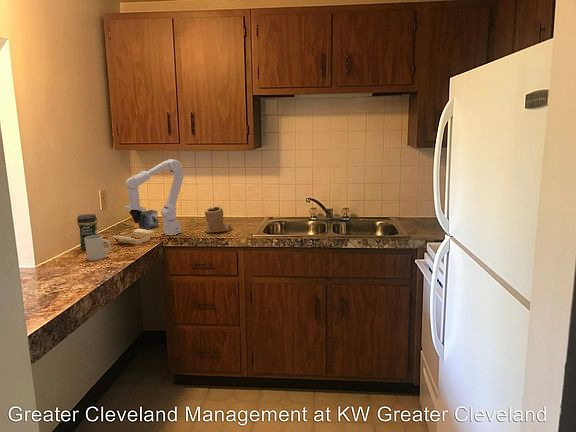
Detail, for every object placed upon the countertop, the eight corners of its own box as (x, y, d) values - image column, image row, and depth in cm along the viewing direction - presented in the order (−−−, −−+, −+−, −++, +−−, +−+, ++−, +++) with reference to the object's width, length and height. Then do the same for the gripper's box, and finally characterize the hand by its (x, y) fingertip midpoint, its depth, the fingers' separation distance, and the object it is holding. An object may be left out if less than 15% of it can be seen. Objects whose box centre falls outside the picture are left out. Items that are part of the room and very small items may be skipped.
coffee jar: (79, 250, 244) (74, 216, 240) (84, 246, 252) (79, 213, 247) (97, 249, 245) (92, 215, 240) (102, 245, 252) (97, 212, 248)
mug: (84, 261, 226) (81, 239, 223) (91, 255, 234) (88, 235, 231) (109, 259, 226) (106, 238, 223) (114, 254, 234) (112, 234, 232)
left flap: (129, 237, 246) (129, 240, 246) (135, 238, 249) (134, 240, 249) (113, 235, 252) (113, 237, 252) (119, 235, 256) (118, 237, 256)
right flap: (149, 233, 258) (149, 235, 258) (154, 230, 261) (154, 232, 262) (133, 231, 264) (133, 233, 265) (138, 228, 267) (138, 230, 268)
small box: (145, 230, 280) (143, 214, 278) (138, 229, 284) (136, 212, 282) (159, 226, 288) (157, 210, 286) (152, 225, 292) (151, 209, 290)
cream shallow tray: (150, 239, 258) (149, 235, 258) (136, 244, 250) (136, 240, 249) (133, 237, 265) (132, 233, 265) (119, 242, 257) (118, 237, 256)
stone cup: (204, 235, 264) (202, 210, 260) (206, 230, 275) (204, 205, 272) (231, 233, 265) (229, 208, 262) (231, 228, 277) (229, 204, 273)
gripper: (119, 199, 255) (122, 223, 258) (137, 201, 248) (140, 225, 251) (129, 197, 261) (132, 220, 264) (147, 199, 254) (150, 222, 257)
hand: (136, 222), depth 258 cm, fingers closed
